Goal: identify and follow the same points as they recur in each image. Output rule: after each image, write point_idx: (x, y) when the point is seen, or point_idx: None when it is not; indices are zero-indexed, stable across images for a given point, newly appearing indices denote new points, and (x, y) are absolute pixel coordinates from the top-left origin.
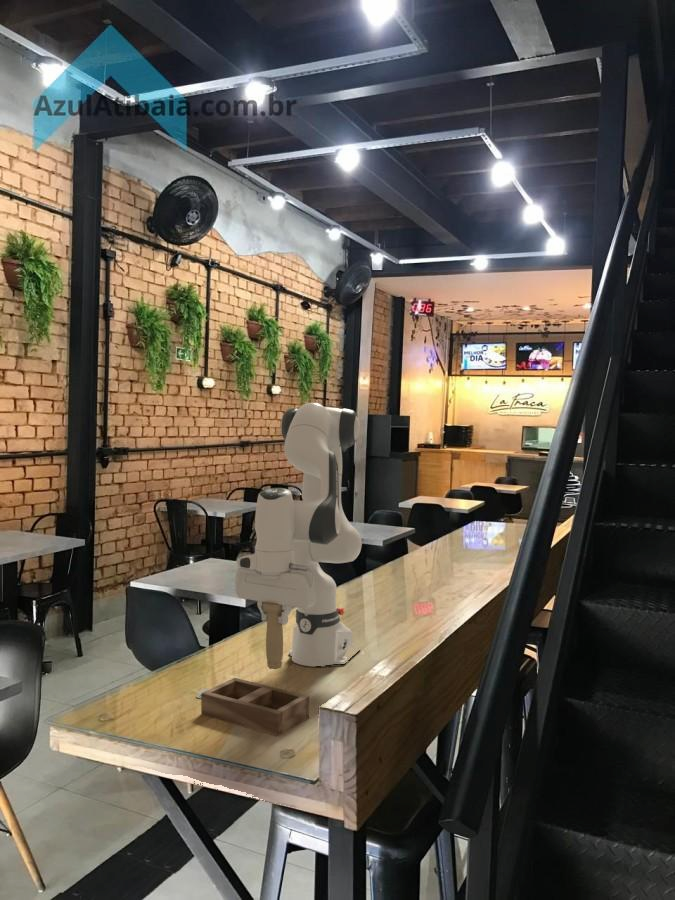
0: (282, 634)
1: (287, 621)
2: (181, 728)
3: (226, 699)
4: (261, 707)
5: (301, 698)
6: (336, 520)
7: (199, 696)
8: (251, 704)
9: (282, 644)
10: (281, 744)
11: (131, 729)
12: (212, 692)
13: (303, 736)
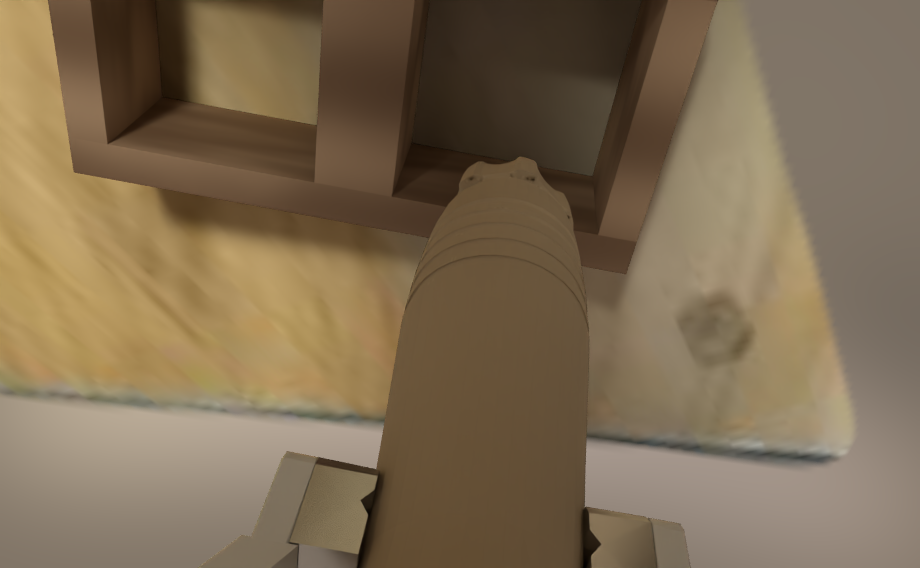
0: (586, 390)
1: (683, 547)
2: (175, 275)
3: (259, 202)
4: None
5: (688, 18)
6: None
7: None
8: (426, 216)
9: (588, 330)
10: (660, 271)
11: (23, 339)
12: (107, 125)
13: (740, 168)
